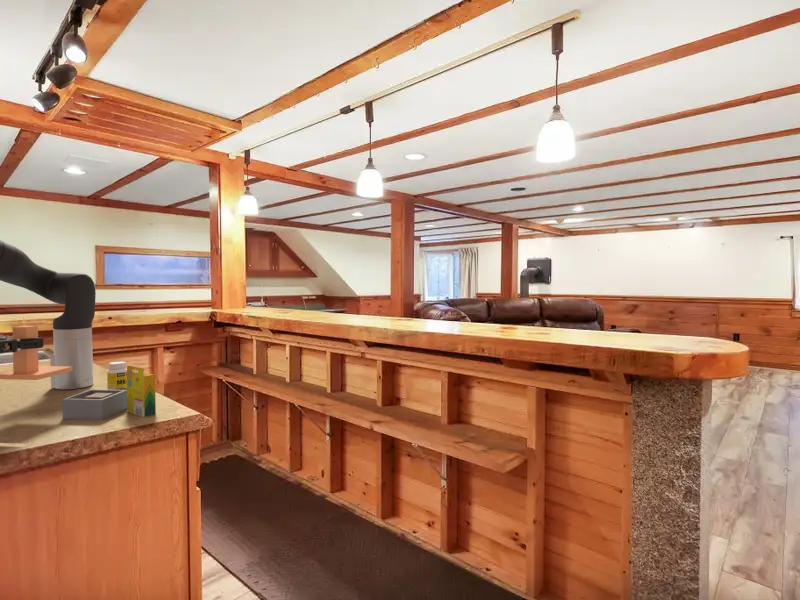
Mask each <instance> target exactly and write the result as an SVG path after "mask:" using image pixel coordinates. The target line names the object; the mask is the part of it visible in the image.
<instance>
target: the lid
mask: <svg viewBox="0 0 800 600" xmlns="http://www.w3.org/2000/svg"><path fill="white" fill-rule="evenodd" d="M12 335H13V339H15V338H18V339H25V338H38V336H39V326H38V325H19V326H12ZM12 360H13V361H12V366H13V369H10V370H4V371H1V372H0V380H19V381H21V380H25V381H39V380H42V379H46V378H51V376H55V375H59V374H62V373H66V372H70V371H73V367H67V366H51V365H39V348H34V349H21V350H19V351H17V352H12Z"/></svg>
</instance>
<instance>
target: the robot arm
mask: <svg viewBox="0 0 800 600" xmlns="http://www.w3.org/2000/svg"><path fill="white" fill-rule="evenodd" d="M0 282H4V283H7V284H10V285H13V286H16V287H20V288H22V289H26V290H28V291H30V292H32V293H34V294H37V295H38V296H40V297H42V298H44V299H46V300H48V301H50V302H53V303H55V304H59V305H64V311H63V313H62V314H61V315H60V316H58V317H55V318H53V321H52V328H53V329H52V335H53V354H51V355H50V356H49V359H50V362H49V363H50V365H49V366H67V367H73V371H70V372H66V373H62V374H59V375H55V376H51V377H50V388H51V389H55V390H76V389H83V388H88V387H90V386H92V385H93V384H94V367H93V366H94V362H93V361H94V360H93V359H94V358H93V320H94V318H95V315H96V314H95V313H96V298H97V297H96V285H95V282H94V280H93V278H92V277H91V276H89V275H88V274H86V273H83V272H82V273H81V272H59V271H55V270H52V269H49V268H45V267H43V266H41V265H39V264H37V263H35V262H34V261H32V259H31V258H30V257H29V255H28V254H26V253H25V252H24V251H23V250H21V249H20V248H18V247H17V246H14V245H12V244H10V243H8V242H6V241H3V240H1V239H0ZM34 348H38V349H42V348H44V339H43V337H41V335H38V338H25V339H18V338H15V339H13V334H9V335H4V334H0V354H2V355H3V354H6V353H13V352H17V351H19V350H21V349H34Z"/></svg>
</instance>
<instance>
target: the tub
mask: <svg viewBox="0 0 800 600" xmlns="http://www.w3.org/2000/svg"><path fill="white" fill-rule="evenodd" d="M95 393H113V395H111V396H108V397H105V398H103V399H85V397H86V396H89V395H92V394H95ZM61 403H62V404H61V405H62V407H61V408H62V409H61V410H62V420H93V421H94V420H95V421H96V420H99V421H100V420H101V421H102V420H105V419H107V418H109V417H112V416H114V415H116V414H119V413H121V412H123V411H125V410H127V390H107V389H94V388H93V389H88V390H85V391H81V392H79V393H77V394H73V395H71V396H68V397H66V398H62V399H61Z"/></svg>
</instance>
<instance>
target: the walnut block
mask: <svg viewBox="0 0 800 600" xmlns="http://www.w3.org/2000/svg"><path fill="white" fill-rule="evenodd" d="M111 395H113V393H95V394H92V395H89V396H86V397H85V399H103V398H105V397H108V396H111Z"/></svg>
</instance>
